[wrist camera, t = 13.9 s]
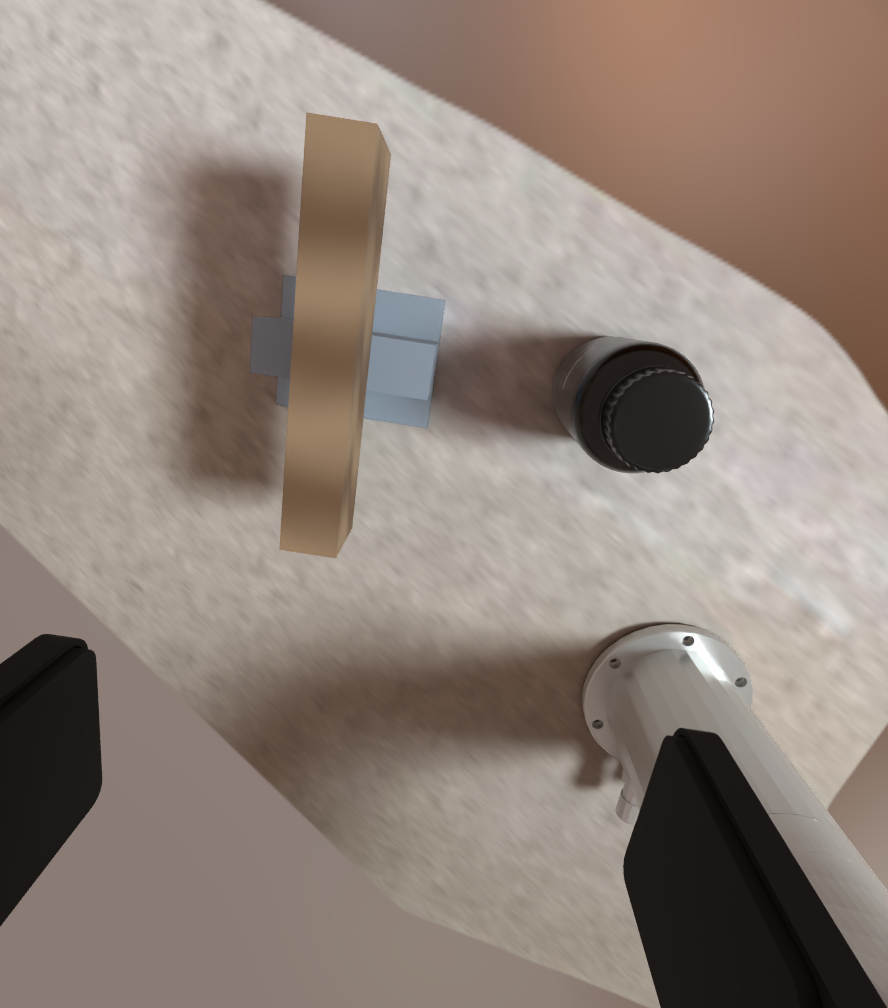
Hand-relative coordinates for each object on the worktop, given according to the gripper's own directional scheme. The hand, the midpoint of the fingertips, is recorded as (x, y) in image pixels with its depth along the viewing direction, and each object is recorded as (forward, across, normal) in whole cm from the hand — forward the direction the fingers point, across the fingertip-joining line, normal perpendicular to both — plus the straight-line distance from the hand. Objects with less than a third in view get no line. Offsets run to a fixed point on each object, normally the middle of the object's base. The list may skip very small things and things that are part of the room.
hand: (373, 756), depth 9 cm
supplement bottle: (+31, -10, -4) cm, 32 cm away
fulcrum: (+30, +6, -4) cm, 31 cm away
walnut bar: (+24, +6, -4) cm, 25 cm away
